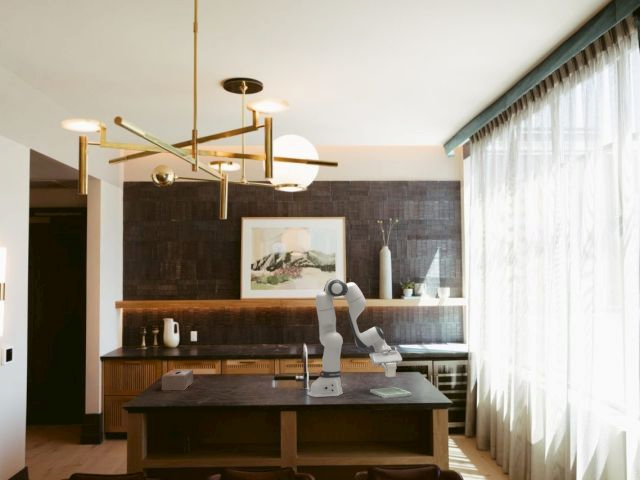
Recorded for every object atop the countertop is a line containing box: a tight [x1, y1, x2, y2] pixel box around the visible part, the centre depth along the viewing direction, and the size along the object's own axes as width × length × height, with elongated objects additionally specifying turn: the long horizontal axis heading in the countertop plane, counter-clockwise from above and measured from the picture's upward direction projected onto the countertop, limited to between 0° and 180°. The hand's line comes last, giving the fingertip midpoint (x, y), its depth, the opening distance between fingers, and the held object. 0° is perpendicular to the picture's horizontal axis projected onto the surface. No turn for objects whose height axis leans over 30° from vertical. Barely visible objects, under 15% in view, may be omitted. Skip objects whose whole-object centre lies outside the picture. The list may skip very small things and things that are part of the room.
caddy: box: [384, 363, 397, 378], centre depth 368 cm, size 5×5×8 cm
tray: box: [369, 386, 413, 399], centre depth 367 cm, size 18×20×2 cm
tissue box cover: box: [161, 369, 194, 391], centre depth 398 cm, size 26×14×10 cm, turn 179°
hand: (390, 369), depth 368 cm, fingers closed on caddy, 5 cm apart
